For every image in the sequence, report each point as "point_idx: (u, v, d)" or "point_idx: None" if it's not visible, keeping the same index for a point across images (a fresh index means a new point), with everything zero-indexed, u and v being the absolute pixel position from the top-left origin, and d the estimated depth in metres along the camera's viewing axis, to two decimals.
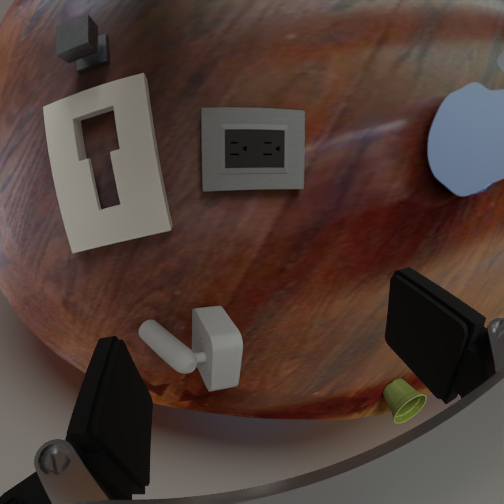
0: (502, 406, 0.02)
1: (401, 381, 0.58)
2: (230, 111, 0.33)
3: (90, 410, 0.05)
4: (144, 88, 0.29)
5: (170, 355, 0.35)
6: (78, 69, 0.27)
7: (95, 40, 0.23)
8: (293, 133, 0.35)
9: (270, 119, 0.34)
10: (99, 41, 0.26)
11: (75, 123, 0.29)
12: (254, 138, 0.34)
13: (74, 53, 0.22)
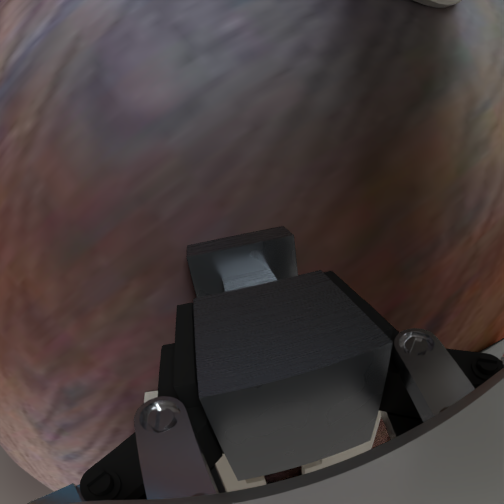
0: (502, 406, 0.02)
1: None
2: None
3: (194, 362, 0.06)
4: None
5: None
6: None
7: None
8: None
9: None
10: (275, 262, 0.12)
11: None
12: None
13: None
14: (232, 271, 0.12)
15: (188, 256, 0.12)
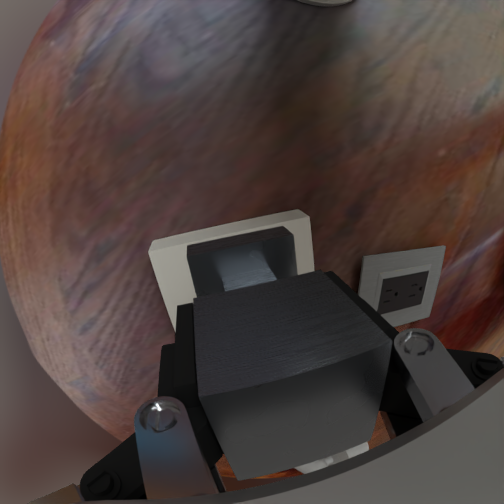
0: (502, 406, 0.02)
1: None
2: (390, 258, 0.30)
3: (194, 362, 0.06)
4: (310, 239, 0.26)
5: (307, 467, 0.33)
6: None
7: None
8: (433, 270, 0.32)
9: (420, 260, 0.31)
10: (275, 262, 0.12)
11: None
12: (405, 283, 0.31)
13: None
14: (232, 270, 0.12)
15: (188, 256, 0.12)
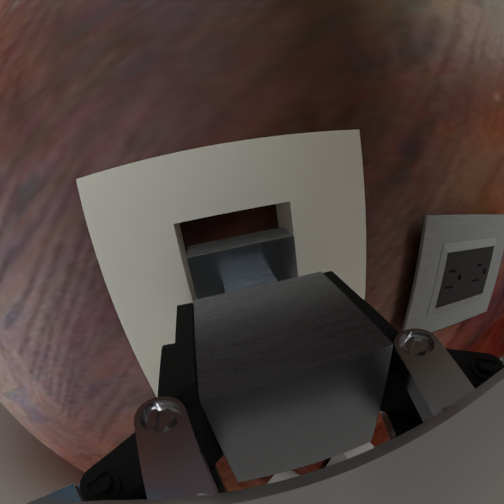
0: (502, 406, 0.02)
1: None
2: (456, 222, 0.18)
3: (194, 362, 0.06)
4: (361, 169, 0.14)
5: None
6: None
7: None
8: (497, 247, 0.21)
9: (486, 231, 0.19)
10: (275, 263, 0.12)
11: (176, 231, 0.14)
12: (470, 262, 0.20)
13: None
14: (232, 271, 0.12)
15: (188, 257, 0.12)
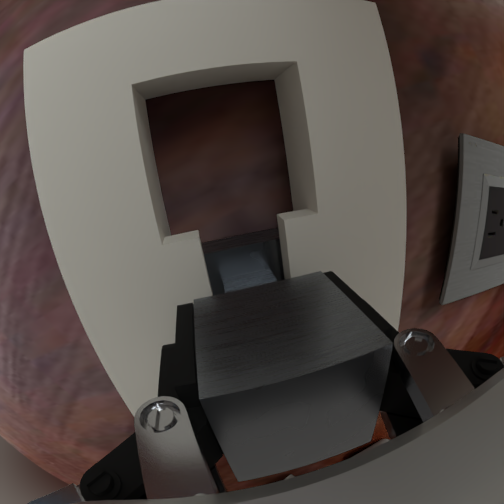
0: (502, 406, 0.02)
1: None
2: (493, 150, 0.13)
3: (194, 362, 0.06)
4: (384, 43, 0.09)
5: None
6: None
7: None
8: None
9: None
10: (275, 263, 0.12)
11: (137, 102, 0.09)
12: None
13: None
14: (232, 271, 0.12)
15: None
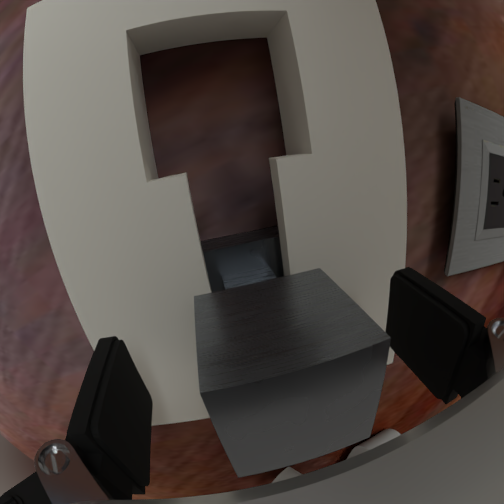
0: (502, 406, 0.02)
1: None
2: (490, 118, 0.12)
3: (90, 409, 0.05)
4: (373, 1, 0.08)
5: None
6: None
7: None
8: None
9: None
10: (274, 260, 0.12)
11: (130, 49, 0.08)
12: None
13: None
14: (232, 269, 0.12)
15: None
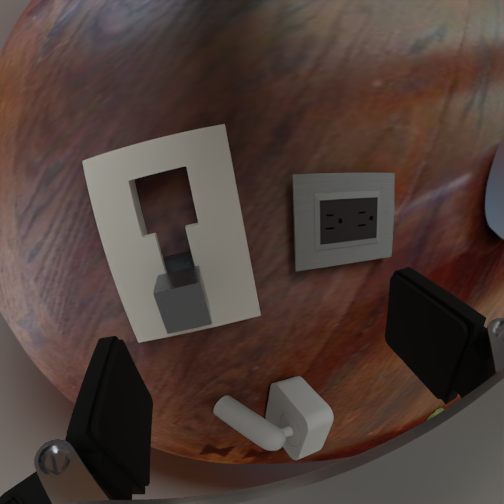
0: (502, 406, 0.02)
1: None
2: (324, 178, 0.30)
3: (90, 409, 0.05)
4: (227, 145, 0.26)
5: (259, 436, 0.31)
6: None
7: (206, 296, 0.27)
8: (384, 199, 0.32)
9: (364, 185, 0.31)
10: (193, 264, 0.30)
11: (131, 185, 0.26)
12: (349, 209, 0.31)
13: None
14: (176, 267, 0.30)
15: None
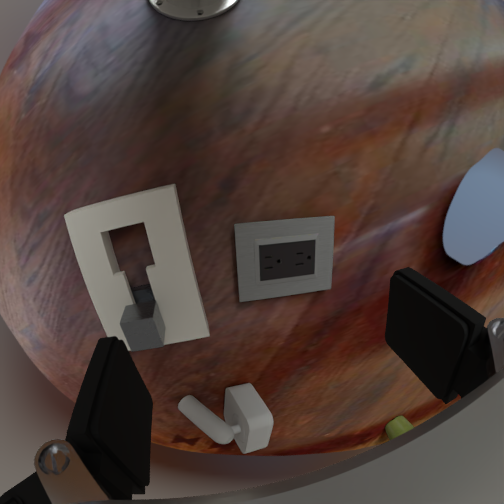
0: (502, 406, 0.02)
1: (401, 419, 0.61)
2: (263, 225, 0.36)
3: (90, 410, 0.05)
4: (176, 204, 0.32)
5: (211, 431, 0.38)
6: None
7: (161, 323, 0.33)
8: (323, 240, 0.38)
9: (302, 229, 0.37)
10: None
11: (103, 235, 0.32)
12: (287, 251, 0.37)
13: None
14: (142, 297, 0.36)
15: None
